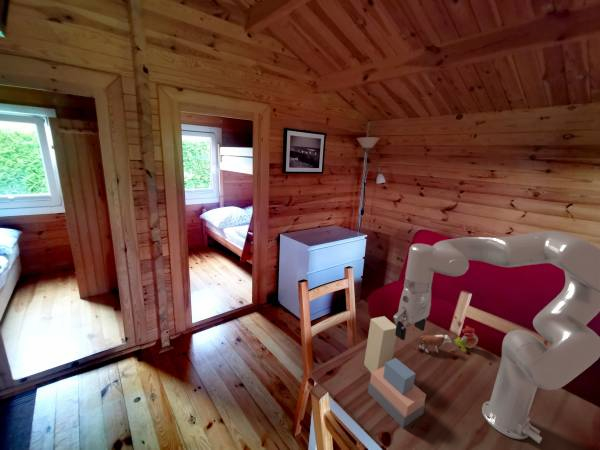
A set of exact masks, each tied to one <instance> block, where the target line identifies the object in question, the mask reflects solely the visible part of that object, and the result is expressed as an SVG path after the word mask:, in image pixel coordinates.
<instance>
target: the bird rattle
mask: <svg viewBox="0 0 600 450" xmlns="http://www.w3.org/2000/svg"><path fill="white" fill-rule="evenodd" d="M462 333H463V334H464V335H463V336H462V337H461V338H460V337H459V336H457V338H455V339H454V340H453V342H454V343H455V344H456V347H461V348H460V350H461V351H462V352H463V353H464V352H465V353H467V348H469V349H472V348H473V347H475V346H476V345H477V344H478V342H479V338H478V336H477V335H476V333H475V328H474V327H473V328H472V327H470V326H469V325H466V326H465V328H463V329H462Z"/></svg>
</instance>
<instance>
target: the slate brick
mask: <svg viewBox="0 0 600 450" xmlns="http://www.w3.org/2000/svg"><path fill="white" fill-rule="evenodd" d="M383 378H384V379H385V380H386V381H388V382H389V383H390V384H391V385H392V386H393V387H394V388H395V389H396V390H397V391H398V392H400V393H401V394H402V395H404V394H405V393H407V392H408V391H410V390H412V389H413V384H414V385H415V379H416V372H414V371H413V370H411V369H410V368H409V367H408V366H406V365H405V364H404V363H403V362H402V361H401V360H399V359H398V358H396V357H393V358H392V360H390V361H388V362H386V363H385V369H384V375H383Z"/></svg>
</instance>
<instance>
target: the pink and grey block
mask: <svg viewBox="0 0 600 450" xmlns="http://www.w3.org/2000/svg"><path fill="white" fill-rule="evenodd" d="M384 369H385V366H384V367H382V368H380V369H378V370H376V371H374V372H372V373H370V381H369V382H368V386H367V387H368V388H367V393H368V394H369V395H370V396H371V397H372V398H373V399H374V400H375V401H376V402H377V403H378V405H380V406H381V408H382V409H383V410H385V412H386V413H387V414H388V415H389V416H390V417H391V418H392V419H393V420H394V421H395V422H396V423H397V424H398V425H399V426H400V427H401V428H402V429H403V428H405V427H406V426H408V425H410V423H412V422H414V421H415V420H417V419H418V418H420V417H421V416H422V415H423V414H424V410H425V405H426V404H425V401H426V397H427V394H426V393H425V392H423V390H421V389H420V388H419V387H418V386H416V385H415V383H414V384H413V389H412V390H410V391H408V392H407V393H405V394H404V395H402V394H401V393H400V392H398V391H397V390H396V389H395V388H394V387H393V386H392V385H391V384H390V383H389V382H388V381H386V380H385V379H384V378H383V375H384Z"/></svg>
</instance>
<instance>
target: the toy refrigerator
mask: <svg viewBox="0 0 600 450" xmlns="http://www.w3.org/2000/svg"><path fill="white" fill-rule="evenodd" d="M395 332H396V324H395V323H394V322H392V321H391V320H389V319H388V318H387V317H386V316H385V315H383V316H379V317H378V316H377V317H373V318H370V322H369V329H368V337H367V343H366V349H365V354H364V355H365V356H364V363H363V365H364V366H365V368H366V369H367V370H368V372H369V373H370V374H371V373H372V372H374V371H376V370H378V369H380V368H382V367H384V366H385V363H386V362H388V361H390V360H392V359H394V351H395V347H396V341H397V336H396V335H395Z"/></svg>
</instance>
